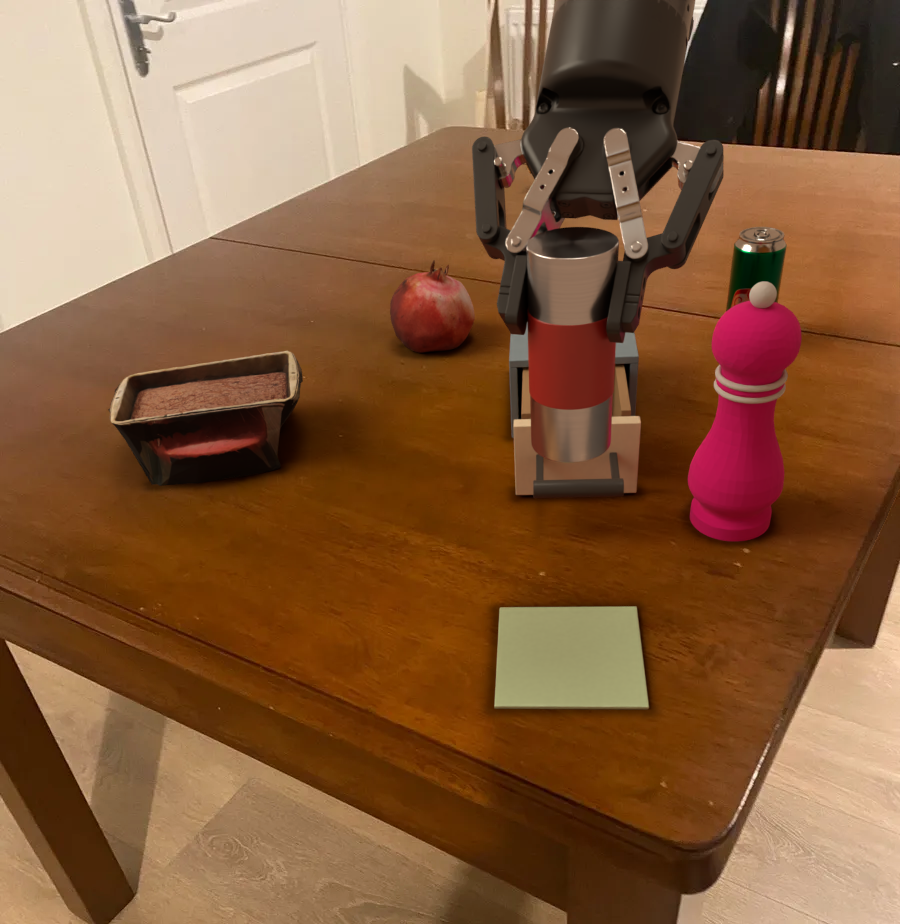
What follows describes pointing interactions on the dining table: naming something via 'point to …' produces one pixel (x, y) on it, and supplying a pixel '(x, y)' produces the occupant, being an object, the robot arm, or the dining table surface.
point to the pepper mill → (744, 419)
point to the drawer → (588, 477)
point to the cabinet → (519, 359)
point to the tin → (571, 341)
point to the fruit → (431, 311)
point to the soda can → (756, 262)
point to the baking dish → (208, 417)
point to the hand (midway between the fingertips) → (564, 332)
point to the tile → (570, 658)
